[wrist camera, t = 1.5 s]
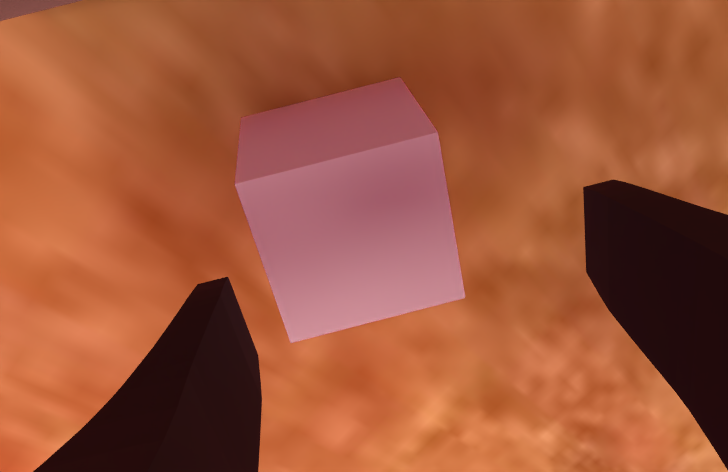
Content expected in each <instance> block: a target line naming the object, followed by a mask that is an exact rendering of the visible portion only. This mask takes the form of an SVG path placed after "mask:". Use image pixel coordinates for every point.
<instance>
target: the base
mask: <svg viewBox="0 0 728 472" xmlns="http://www.w3.org/2000/svg"><path fill="white" fill-rule="evenodd" d="M77 1H81V0H0V21H2V20H6V19H10V18H14V17H18V16H22V15H26V14H30V13H34V12H38V11H42V10H46V9H50V8H54V7H58V6H62V5H66V4H70V3H74V2H77Z"/></svg>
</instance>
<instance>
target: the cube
mask: <svg viewBox="0 0 728 472" xmlns="http://www.w3.org/2000/svg"><path fill="white" fill-rule="evenodd" d="M235 187H236V189H237V192H238V195H239V198H240V201H241V204H242V206H243V209H244V212H245V215H246V218H247V221H248V223H249V226H250V229H251V232H252V235H253V238H254V240H255V243H256V246H257V249H258V252H259V255H260V257H261V260H262V263H263V266H264V269H265V271H266V274H267V277H268V280H269V283H270V286H271V288H272V291H273V294H274V297H275V300H276V303H277V305H278V308H279V311H280V314H281V317H282V320H283V322H284V325H285V328H286V331H287V334H288V336H289V339H290V342H291V343H293V342H297V341H301V340H305V339H308V338H312V337H316V336H320V335H324V334H328V333H332V332H335V331H339V330H343V329H347V328H351V327H355V326H359V325H363V324H366V323H370V322H374V321H378V320H382V319H386V318H390V317H393V316H397V315H401V314H405V313H409V312H413V311H417V310H420V309H424V308H428V307H432V306H436V305H440V304H444V303H448V302H451V301H455V300H459V299H463V298H465V293H464V287H463V281H462V275H461V269H460V263H459V257H458V251H457V245H456V238H455V232H454V226H453V220H452V214H451V208H450V202H449V196H448V190H447V184H446V178H445V172H444V166H443V160H442V154H441V148H440V142H439V135H438V132H437V130H436V129H435V127H434V126H433V124H432V123H431V121H430V120H429V118H428V117H427V115H426V114H425V113H424V111H423V110H422V108H421V107H420V105H419V104H418V102H417V101H416V99H415V98H414V96H413V95H412V94H411V92H410V91H409V89H408V88H407V86H406V85H405V83H404V82H403V80H402V79H401V77H398V78H394V79H390V80H386V81H383V82H379V83H375V84H371V85H367V86H363V87H359V88H355V89H351V90H347V91H343V92H339V93H335V94H331V95H327V96H324V97H320V98H316V99H312V100H308V101H304V102H300V103H296V104H292V105H288V106H284V107H280V108H276V109H272V110H268V111H265V112H261V113H257V114H253V115H249V116H245V117H241V124H240V134H239V145H238V155H237V165H236V175H235Z"/></svg>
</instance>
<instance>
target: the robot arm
mask: <svg viewBox="0 0 728 472" xmlns="http://www.w3.org/2000/svg"><path fill="white" fill-rule="evenodd" d="M583 190H584V218H585V247H586V272H587V274H588V276H589V277H590V279H591V281H592V283H593V284H594V286H595V288H596V290H597V291H598V293H599V295H600V296H601V298H602V300H603V301H604V303H605V305H606V306H607V308H608V309H609V311H610V312H611V313H612V315H613V316H614V317H615V319H616V320H617V321H618V322H619V324H620V325H621V326H622V327H623V328H624V330H625V331H626V332H627V333H628V335H629V336H630V337H631V338H632V340H633V341H634V342H635V343H636V344H637V346H638V347H639V348H640V349H641V351H642V352H643V353H644V354H645V355H646V357H647V358H648V359H649V360H650V361H651V363H652V364H653V365H654V366H655V368H656V369H657V370H658V371H659V372H660V374H661V375H662V376H663V377H664V378H665V380H666V381H667V382H668V383H669V385H670V386H671V387H672V388H673V389H674V391H675V392H676V393H677V395H678V396H679V397H680V399H681V400H682V401H683V403H684V404H685V405H686V407H687V408H688V409H689V411H690V412H691V414H692V415H693V417H694V418H695V420H696V421H697V423H698V424H699V426H700V427H701V429H702V430H703V432H704V434H705V435H706V437H707V438H708V440H709V441H710V443H711V444H712V446H713V447H714V449H715V450H716V452H717V454H718V455H719V457H720V458H721V460H722V462H723V463H724V465H725V467H726V468H727V470H728V215H726V214H723V213H720V212H716V211H713V210H710V209H707V208H703V207H700V206H697V205H694V204H691V203H688V202H685V201H682V200H679V199H676V198H673V197H670V196H667V195H664V194H661V193H658V192H655V191H652V190H648V189H645V188H642V187H639V186H636V185H633V184H629V183H626V182H622V181H617V180H610V181H606V182H602V183H598V184H594V185H590V186H586V187H583ZM261 406H262V395H261V382H260V370H259V360H258V354H257V351H256V349H255V346H254V343H253V341H252V338H251V336H250V333H249V330H248V328H247V325H246V323H245V320H244V317H243V315H242V312H241V309H240V307H239V304H238V302H237V299H236V296H235V294H234V291H233V289H232V286H231V283H230V281H229V278H228V277H225V278H221V279H217V280H213V281H209V282H205V283H201V284H198V285H197V286H196V287H195V289H194V290H193V291H192V293H191V294H190V295H189V297H188V298H187V300H186V301H185V303H184V304H183V306H182V307H181V309H180V310H179V311H178V313H177V314H176V316H175V317H174V319H173V320H172V322H171V323H170V324H169V326H168V327H167V329H166V330H165V331H164V333H163V334H162V336H161V337H160V338H159V340H158V341H157V343H156V344H155V345H154V347H153V348H152V349H151V351H150V352H149V353H148V354H147V356H146V357H145V358H144V359H143V361H142V362H141V363H140V364H139V366H138V367H137V368H136V369H135V371H134V372H133V373H132V374H131V376H130V377H129V378H128V379H127V381H126V382H125V383H124V384H123V386H122V387H121V388H120V389H119V390H118V391H117V392H116V394H115V395H114V396H113V397H112V398H111V399H110V400H109V401H108V402H107V403H106V404H105V405H104V407H103V408H102V409H101V410H100V411H99V412H98V413H97V414H96V415H95V416H94V417H93V418H92V419H91V420H90V421H89V422H88V423H87V424H86V425H85V426H84V427H83V428H82V429H81V430H80V431H79V432H78V433H76V434H75V435H74V436H73V437H72V438H71V439H70V440H69V441H67V442H66V443H65V444H64V445H63V446H62V447H61V448H60V449H59V450H57V451H56V452H55V453H54V454H53V455H52V456H51V457H50V458H48V459H47V460H46V461H45V462H44V463H43V464H42V465H41V466H39V467H38V468H37V469H36V470H35V471H33V472H258V464H259V446H260V427H261Z"/></svg>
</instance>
